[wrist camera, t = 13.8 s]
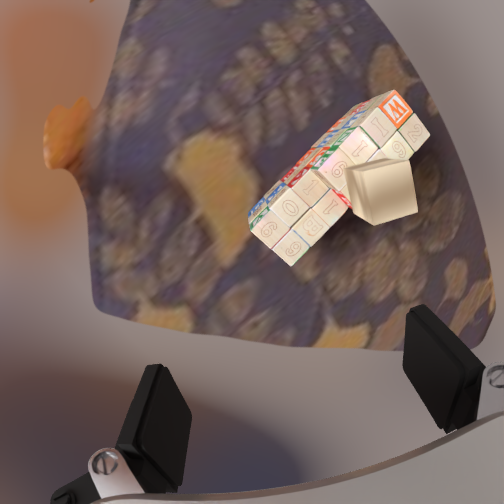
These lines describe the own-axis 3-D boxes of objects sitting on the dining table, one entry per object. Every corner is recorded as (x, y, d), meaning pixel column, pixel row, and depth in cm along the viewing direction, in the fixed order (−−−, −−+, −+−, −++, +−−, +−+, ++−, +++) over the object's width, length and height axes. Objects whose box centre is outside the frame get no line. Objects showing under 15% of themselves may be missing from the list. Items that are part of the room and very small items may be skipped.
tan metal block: (342, 168, 26) (363, 171, 21) (383, 158, 26) (409, 160, 21) (353, 213, 27) (373, 225, 23) (392, 201, 27) (418, 212, 22)
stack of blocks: (280, 243, 41) (294, 279, 29) (246, 212, 40) (248, 238, 28) (383, 137, 37) (432, 134, 25) (354, 104, 35) (396, 87, 23)
